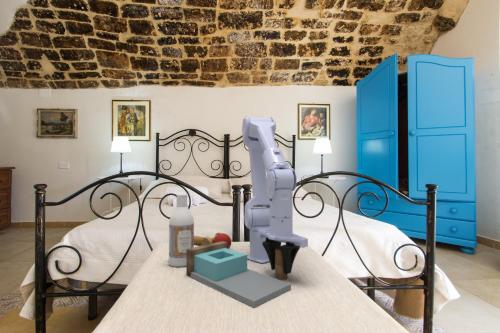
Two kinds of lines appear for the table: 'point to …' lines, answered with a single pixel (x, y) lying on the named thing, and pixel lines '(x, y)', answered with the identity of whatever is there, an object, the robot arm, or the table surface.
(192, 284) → the table surface
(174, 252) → the bath foam
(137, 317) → the table surface
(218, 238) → the kendama
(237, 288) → the slate board
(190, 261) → the walnut wall
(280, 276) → the walnut dowel
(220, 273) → the teal block
